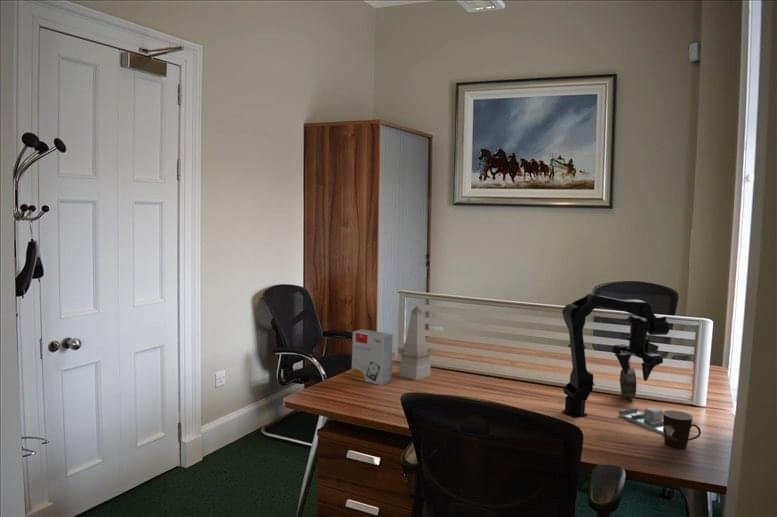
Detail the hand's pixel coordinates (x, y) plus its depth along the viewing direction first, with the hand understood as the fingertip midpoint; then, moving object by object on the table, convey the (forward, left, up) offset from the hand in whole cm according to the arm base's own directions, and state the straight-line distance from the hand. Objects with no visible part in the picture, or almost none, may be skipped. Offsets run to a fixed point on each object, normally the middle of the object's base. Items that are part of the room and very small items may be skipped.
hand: (635, 377), depth 234 cm
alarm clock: (+10, +13, -13) cm, 21 cm away
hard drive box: (-72, +71, -13) cm, 102 cm away
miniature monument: (-52, +71, -13) cm, 89 cm away
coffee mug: (-13, -30, -13) cm, 35 cm away
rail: (-4, -11, -13) cm, 18 cm away
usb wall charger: (-4, -11, -12) cm, 17 cm away
